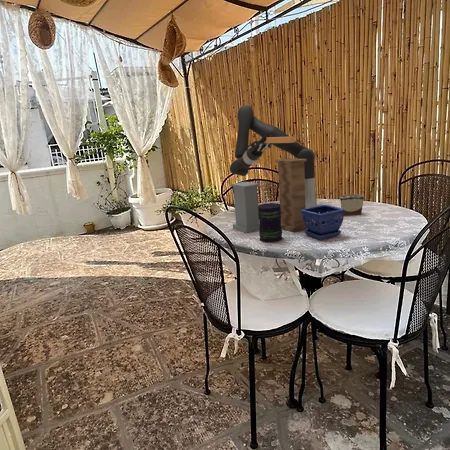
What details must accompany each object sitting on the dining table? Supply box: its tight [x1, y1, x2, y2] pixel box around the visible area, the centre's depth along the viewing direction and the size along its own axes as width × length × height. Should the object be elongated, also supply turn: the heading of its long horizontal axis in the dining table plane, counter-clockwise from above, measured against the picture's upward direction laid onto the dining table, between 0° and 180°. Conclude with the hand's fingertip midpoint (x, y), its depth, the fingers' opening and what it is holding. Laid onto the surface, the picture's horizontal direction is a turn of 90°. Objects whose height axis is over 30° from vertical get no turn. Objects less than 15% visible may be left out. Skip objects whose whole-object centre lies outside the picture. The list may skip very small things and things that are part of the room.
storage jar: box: [258, 202, 283, 243], centre depth 154 cm, size 10×10×15 cm
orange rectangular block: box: [264, 136, 296, 143], centre depth 168 cm, size 22×3×2 cm, turn 30°
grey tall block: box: [230, 181, 260, 234], centre depth 173 cm, size 12×10×22 cm
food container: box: [338, 193, 365, 217], centre depth 183 cm, size 12×6×10 cm, turn 84°
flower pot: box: [301, 204, 345, 241], centre depth 153 cm, size 13×13×12 cm
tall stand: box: [275, 157, 308, 233], centre depth 166 cm, size 12×10×32 cm
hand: (268, 137), depth 173 cm, fingers closed on orange rectangular block, 3 cm apart
